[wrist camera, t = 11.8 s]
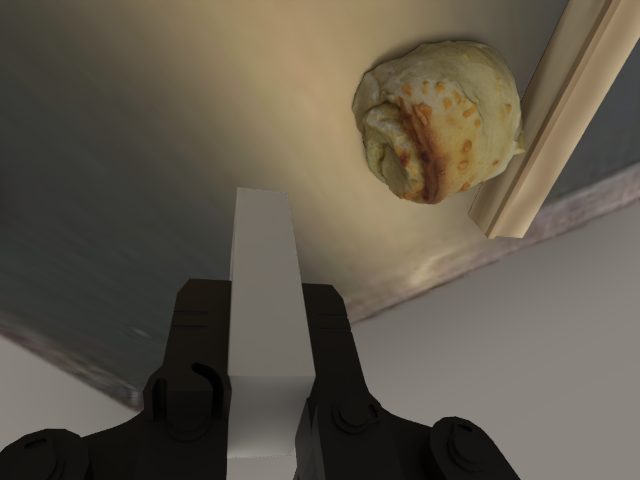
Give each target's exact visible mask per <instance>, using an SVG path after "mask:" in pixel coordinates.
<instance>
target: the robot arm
mask: <svg viewBox="0 0 640 480" xmlns="http://www.w3.org/2000/svg"><path fill="white" fill-rule="evenodd" d="M143 399H144V410H143V411H141V412H140V413H139V414H138V415H137V416H135V417H134V418H132V419H131V420H129V421H127V422H125V423H123V424H120V425H118V426H116V427H113V428H110V429H107V430H103V431H100V432H97V433H94V434H91V435H88V436H85V437H82V438H81V437H80V436H79V435H78V434H75V433H73V432H71V431H68V430H66V429H44V430H40V431H37V432H34V433H31V434H27V435H25V436H23V437H21V438H20V439H18V440H17V441H15V442H13V443H11V444H10V445H8V446H6V447H5V448H4V449H3V450H2V451H1V452H0V480H226V475H227V458H246V457H266V456H267V457H268V456H288V455H289V456H290V455H292V452H293V449H294V446H295V448H296V458H297V469H296V472H295V475H294V478H293V480H520V478H519V477H518V475H517V474H516V473H515V471H514V470H513V469H512V467H511V466H510V464H509V463H508V461H507V460H506V459H505V457H504V456H503V454H502V453H501V452H500V450H499V449H498V447H497V446H496V445H495V444H494V442H493V441H492V439H491V438H490V437H489V436H488V435H487V434H486V433H485V432H484V431H483V430H482V429H481V428H480V427H478V426H477V425H475V424H473V423H472V422H471V421H469V420H466V419H462V418H459V417H456V416H455V417H444V418H442V419H441V420H439V421H437V422H436V423H435V424H434V425H433V427H429V426H426V425H423V424H419V423H416V422H413V421H409V420H406V419H403V418H400V417H398V416H395V415H393V414H391V413H390V412H388V411H387V410H385V409H384V408H382V406H381V404H380V403H379V402H378V401H377V400H376V399H375V398H374V397H373V396H372V395H371V394H370V393H369V391H368V388H367V386H366V383H365V380H364V376H363V372H362V369H361V365H360V361H359V357H358V353H357V350H356V346H355V342H354V338H353V335H352V332H351V327H350V323H349V320H348V319H347V312H346V308H345V305H344V301H343V298H342V297H341V296H340V295H339V293H338V292H337V291H336V290H335V288H334V287H333V286H332V285H326V284H307V283H301V278H300V272H299V265H298V259H297V253H296V246H295V240H294V233H293V227H292V220H291V214H290V207H289V201H288V194H287V193H286V192H276V191H267V190H257V189H247V188H238V187H237V198H236V209H235V220H234V231H233V242H232V253H231V267H230V281H226V280H207V279H189V280H188V281H187V282H186V284H185V285H184V286H183V287H182V288H181V289H180V291H179V292H178V293H177V298H176V303H175V307H174V314H173V317H172V322H171V329H170V332H169V337H168V341H167V346H166V351H165V356H164V361H163V365H162V366H161V367H160V368H159V369H158V370H157V371H156V372H154V373H153V374H152V375H151V376H150V377H149V379H148V382H147V384H146V386H145V388H144V390H143Z"/></svg>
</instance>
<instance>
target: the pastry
mask: <svg viewBox="0 0 640 480" xmlns="http://www.w3.org/2000/svg"><path fill="white" fill-rule="evenodd" d="M354 99H355V101H354V105H353V108H352V109H353V113H354V114H355V116H356V121H357V127H358V129H359V131H360V132H361V133H362V134H363V139H364V140H363V144H364V146H365V148H366V149H367V157H366V159H367V164H368V168H369V169H370V171H371V172H372V173H373V174H374V175H375V176H376V177H377V178H378V179H379V180H381V181H382V182H383V183H385V184H387V185H388V186H389V190H391V191H392V192H393V193H394V194H395V195H396V196H398V197H399V198H400V199H406V200H410V201H413V202H415V203H420V204H437V203H439V202H441V201H442V200H443V199H445V198H446V197H449V196H451V195H452V194H455V193H459V192H465V191H466V190H468V189H470V188H471V187H473V186H476V185H478V184H481V183H482V182H484V181H486V180H488V179H490V178H493V177H495V176H497V175H499V174H501V173H502V172H503V171H505V169H506V167H507V165H508V163H509V161H510V160H511V159H512V157H513V155H521V154H522V153H524V152H525V147H524V144H525V139H524V132H523V129H522V115H521V107H520V98H519V95H518V93H517V89H516V84H515V80H514V77H513V75H512V73H511V72H510V70H509V68H508V66H507V65H506V63H505V62H504V60H503V59H502V58H501V56H500V55H499V53H498V52H496V51H494V50H493V49H492V48H490V47H489V46H487V45H484V44H482V43H478V42H472V41H455V42H451V41H450V40H448V41H443V42H441V43H432V44H425V43H422V44H421V45H420V46H419V47H417V48H416V49H415V50H413V51H411V52H410V53H408V54H407V55H405V56H404V57H401V58H398V59H393V60H390V61H387V62H385V63H383V64H381V65H379V66H377V67H376V68H375V69H374V70H373V71H370V72H367V73H366V74H364V78H363V80H362V83H361V84H360V85H359V86H358V88H357V92H356V94H355V98H354Z"/></svg>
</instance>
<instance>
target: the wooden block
mask: <svg viewBox="0 0 640 480" xmlns="http://www.w3.org/2000/svg"><path fill="white" fill-rule="evenodd" d="M639 37H640V0H569V1H568V3H567V6H566V8H565V10H564V12H563V14H562V16H561V18H560V20H559V23H558V25H557V27H556V29H555V31H554V33H553V35H552V37H551V40H550V42H549V44H548V46H547V48H546V50H545V52H544V54H543V56H542V59H541V61H540V63H539V65H538V67H537V69H536V71H535V73H534V76H533V78H532V80H531V82H530V84H529V86H528V88H527V90H526V93H525V95H524V97H523V99H522V101H521V103H520V107H521V115H522V129H523V132H524V139H525V144H524V147H525V152H524V153H522V154H521V155H513V157H512V159H511V160H510V161H509V163H508V165H507V167H506V169H505V171H503V172H502V173H501V174H499V175H497V176H495V177H493V178H490V179H488V180H486V181H484V182H483V184H482V186H481V188H480V190H479V192H478V194H477V196H476V198H475V201H474V203H473V205H472V207H471V209H470V211H469V213H468V215H469V216H470V217H471V218H472V220H473V221H474V222H475V223H476V224H477V226H478V227H479V228H480V229H481V231H482V232H483V233H484V234H485V235H486V237H487V238H490V239H494V237H495V236H506V237H518V238H522V237H523V236H524V234H525V232H526V231H527V229H528V227H529V225H530V224H531V222H532V220H533V219H534V217H535V215H536V213H537V212H538V210H539V208H540V207H541V205H542V203H543V201H544V200H545V198H546V196H547V195H548V193H549V191H550V189H551V188H552V186H553V184H554V183H555V181H556V179H557V177H558V176H559V174H560V172H561V171H562V169H563V167H564V165H565V164H566V162H567V160H568V159H569V157H570V155H571V153H572V152H573V150H574V148H575V147H576V145H577V143H578V141H579V140H580V138H581V136H582V135H583V133H584V131H585V129H586V128H587V126H588V124H589V123H590V121H591V119H592V117H593V116H594V114H595V112H596V111H597V109H598V107H599V105H600V104H601V102H602V100H603V99H604V97H605V95H606V93H607V92H608V90H609V88H610V87H611V85H612V83H613V81H614V80H615V78H616V76H617V75H618V73H619V71H620V69H621V68H622V66H623V64H624V63H625V61H626V59H627V57H628V56H629V54H630V52H631V51H632V49H633V47H634V45H635V44H636V42H637V40H638V39H639Z"/></svg>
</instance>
